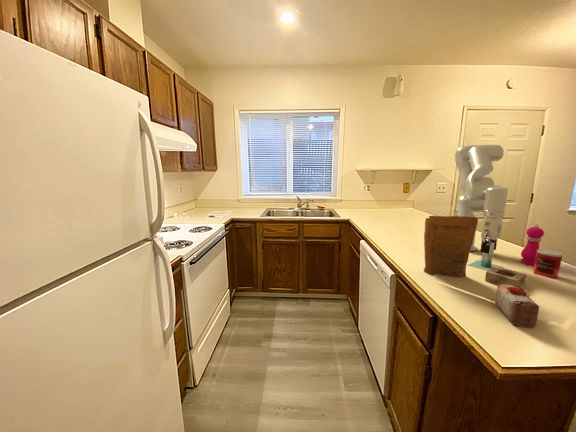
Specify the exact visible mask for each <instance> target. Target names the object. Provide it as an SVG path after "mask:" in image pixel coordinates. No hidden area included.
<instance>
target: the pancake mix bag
mask: <svg viewBox="0 0 576 432" xmlns="http://www.w3.org/2000/svg"><path fill="white" fill-rule="evenodd" d="M475 217H476V216H475ZM475 217H463V216H457V215H455V216H454V215H453V216H452V215H451V216H448V215H447V216H441V215H429V216H428V217H426V218H425V220H424V231H423V232H424V234H423V239H424V241H423V244H424V246H423V247H424V269H423V272H424V273H426V274H428V275H430V274H431V276H435V275H439V276H446V277H452V278H466V277H467V272H466V268H467V265H468V262H469V256H470V252H471V251H470V249H471V246H472V243H473V239H474V234H475V231H476V232H477V227H478V222H479V218H478V217H476V218H475ZM475 235H476V234H475Z"/></svg>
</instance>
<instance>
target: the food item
mask: <svg viewBox="0 0 576 432" xmlns="http://www.w3.org/2000/svg"><path fill="white" fill-rule="evenodd" d="M524 289H525V288H524ZM524 289H523V288H522V287H520V288H517V287H515V286H512V285H507V284H506V285H505V284H502V285H501V284H498V285H497V287H496V292H495V305H496V306H497V307H498V309H499V310H500V311H501V312H502V313H503V315H505V317H506V318H507V319H508V320H509V321H510V323H511V324H512V326H515V327H516V326H517V327H523V328H528V329H535V328H536V327H537V321H538V317H539V316H538V315H539V311H540V310H539V309H540V306H539V305H538V304H537V303H536V302H535V301H534V300H533V299H532V298H531V295H530V293H528V292H527V291H528V289H526V290H524Z"/></svg>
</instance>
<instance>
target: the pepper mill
mask: <svg viewBox="0 0 576 432" xmlns="http://www.w3.org/2000/svg"><path fill="white" fill-rule="evenodd" d="M526 235H527V237H526V240H527V242H526V244H525V247H524V248H523V249H522V250H521V252H520V256H521V257H522V258H521V259H520V263H521V264H523V265H525V264H526V265H525V266H530V267H534V264H535V259H536V253H537V250H539V249H540V243H541V241H542V237H544V235H545V231H544V229H542V228H540V226H539V224H535V223H534V225H533V227H528V229H526Z"/></svg>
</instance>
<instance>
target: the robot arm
mask: <svg viewBox="0 0 576 432" xmlns="http://www.w3.org/2000/svg"><path fill="white" fill-rule="evenodd" d="M504 153H505V151H504V149H503V146H501V145H500V144H475V145H474V144H472V145H463V146H460V147H458V148H457V149H456V150H455V154H454V162H455V165H456V167H457V170H458V184H459V187H458V188H459V190H460V192H461V193H463V194H465V195H461V196H459V197H458V198H457V200H456V206H457V212H456V213H457V215H456V216H463V217H475V218H477V217H476V215H475V213H482V217H483V221H482V222H483V223H482V227H481V231H480V232H481V233H480V238H481V242H480V244H481V245H480V252H481V253H482V252H483V253H487V254H488V253H489V250H490V245H489V244H490V241H492V242H494V243H495V244H494V251H496V250H497V243H498V239H499V238H501V237H502V232H503V219H504V217H505V214H506V213H505V212H506V205H507V197H508V192H509V191H508V188H506V187H503V186H501V185H496V184H495V182H494V179H493V178H492V177H489V176H488V175H490V174H491V173H492V172H493V171H494V165H493V162H499V161H501V160H502V159H503V157H504V156H505V155H504ZM476 232H477V230H476V231H475V234H474V239H473V243H472V246H471V249H470V251H469V252H476V251H477V250H478V247H476V245H475V241H476ZM487 241H488V242H487Z"/></svg>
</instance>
